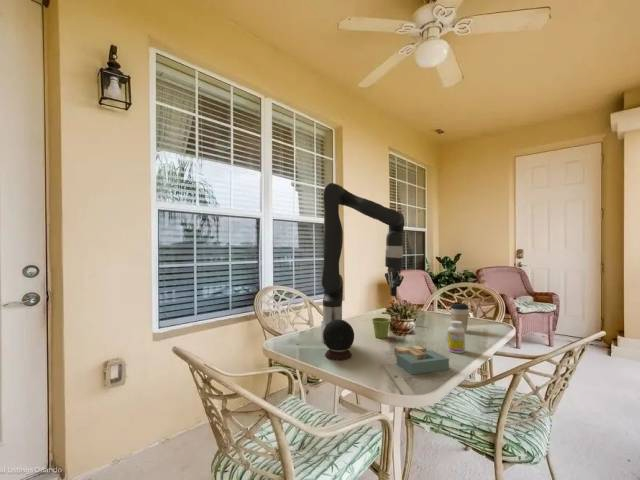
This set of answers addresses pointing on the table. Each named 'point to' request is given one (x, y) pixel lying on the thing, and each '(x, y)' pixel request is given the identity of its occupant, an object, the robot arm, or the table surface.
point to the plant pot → (381, 327)
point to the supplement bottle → (456, 337)
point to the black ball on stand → (338, 340)
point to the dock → (422, 363)
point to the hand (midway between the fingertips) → (393, 295)
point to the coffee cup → (460, 314)
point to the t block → (411, 352)
